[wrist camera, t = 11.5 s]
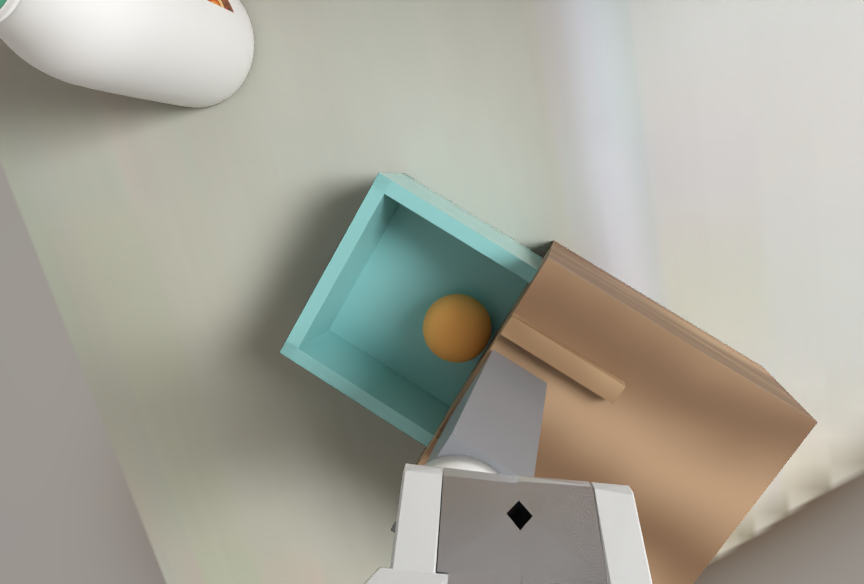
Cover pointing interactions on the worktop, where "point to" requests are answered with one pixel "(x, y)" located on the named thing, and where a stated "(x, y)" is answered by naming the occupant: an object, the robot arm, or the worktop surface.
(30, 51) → the milk bottle
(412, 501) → the robot arm
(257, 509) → the worktop surface
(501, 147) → the worktop surface
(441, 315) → the ball
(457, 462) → the dome-capped grey pillar
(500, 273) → the teal open tray
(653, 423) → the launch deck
